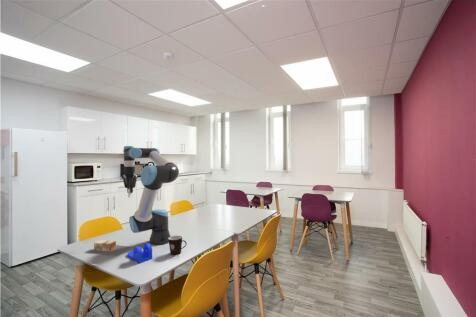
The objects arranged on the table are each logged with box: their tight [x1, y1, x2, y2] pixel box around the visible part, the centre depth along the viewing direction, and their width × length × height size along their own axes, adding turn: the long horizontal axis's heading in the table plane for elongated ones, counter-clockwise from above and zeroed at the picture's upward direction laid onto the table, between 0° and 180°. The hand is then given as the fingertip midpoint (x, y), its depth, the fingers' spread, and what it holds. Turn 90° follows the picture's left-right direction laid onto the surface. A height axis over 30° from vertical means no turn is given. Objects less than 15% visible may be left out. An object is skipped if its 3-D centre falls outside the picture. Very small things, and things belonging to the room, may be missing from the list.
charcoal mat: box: [86, 244, 133, 257], centre depth 158 cm, size 24×16×1 cm, turn 76°
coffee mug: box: [168, 235, 188, 256], centre depth 149 cm, size 12×9×10 cm
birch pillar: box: [93, 239, 117, 251], centre depth 159 cm, size 5×5×13 cm
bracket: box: [126, 242, 153, 265], centre depth 146 cm, size 18×8×9 cm, turn 49°
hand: (130, 197), depth 180 cm, fingers closed
